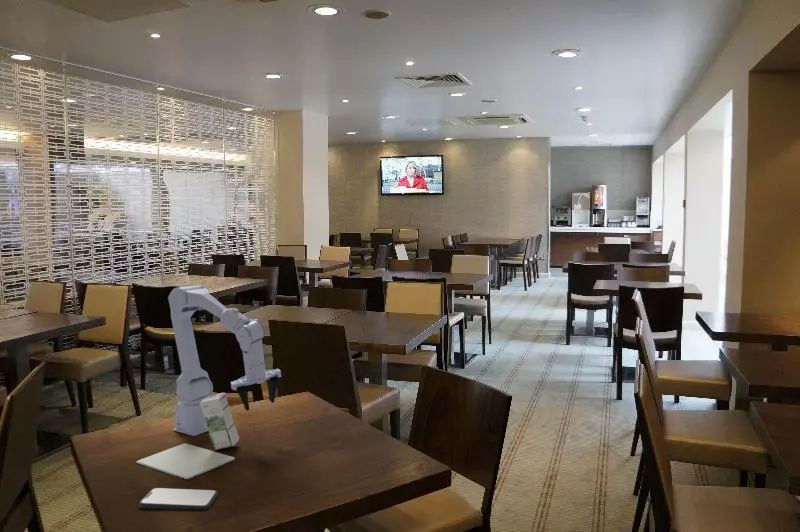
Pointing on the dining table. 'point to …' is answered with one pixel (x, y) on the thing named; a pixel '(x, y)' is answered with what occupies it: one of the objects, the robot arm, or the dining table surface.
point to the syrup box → (219, 421)
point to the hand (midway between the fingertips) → (259, 405)
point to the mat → (185, 460)
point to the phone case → (178, 499)
